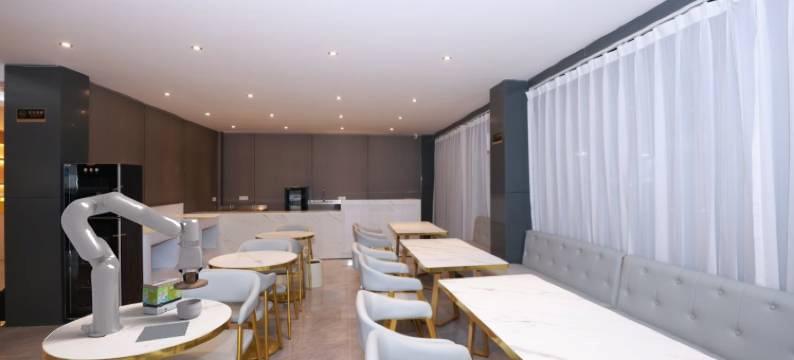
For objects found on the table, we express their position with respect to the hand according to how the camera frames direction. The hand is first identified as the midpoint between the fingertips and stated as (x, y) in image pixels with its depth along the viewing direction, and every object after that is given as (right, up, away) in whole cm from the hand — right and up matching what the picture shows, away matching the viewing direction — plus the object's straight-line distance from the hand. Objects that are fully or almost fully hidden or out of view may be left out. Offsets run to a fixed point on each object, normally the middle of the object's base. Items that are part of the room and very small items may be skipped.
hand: (191, 281), depth 192 cm
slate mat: (-2, -18, -19) cm, 26 cm away
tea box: (-21, -18, +12) cm, 29 cm away
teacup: (0, -18, 0) cm, 18 cm away
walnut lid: (0, -2, 0) cm, 2 cm away
